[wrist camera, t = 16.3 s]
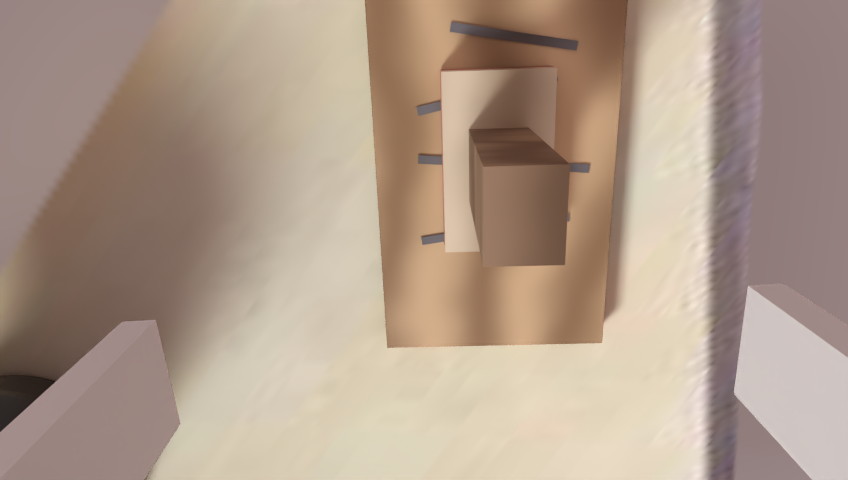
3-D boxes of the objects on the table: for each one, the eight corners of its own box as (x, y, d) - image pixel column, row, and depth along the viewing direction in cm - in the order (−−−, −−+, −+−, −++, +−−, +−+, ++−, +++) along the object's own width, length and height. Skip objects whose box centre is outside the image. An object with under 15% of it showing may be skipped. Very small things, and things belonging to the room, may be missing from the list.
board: (389, 336, 39) (387, 348, 37) (367, -15, 32) (363, -18, 30) (595, 331, 38) (602, 343, 37) (620, -26, 31) (630, -29, 30)
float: (443, 241, 35) (448, 336, 23) (439, 69, 31) (442, 83, 20) (544, 238, 35) (597, 333, 23) (550, 65, 31) (616, 76, 20)
